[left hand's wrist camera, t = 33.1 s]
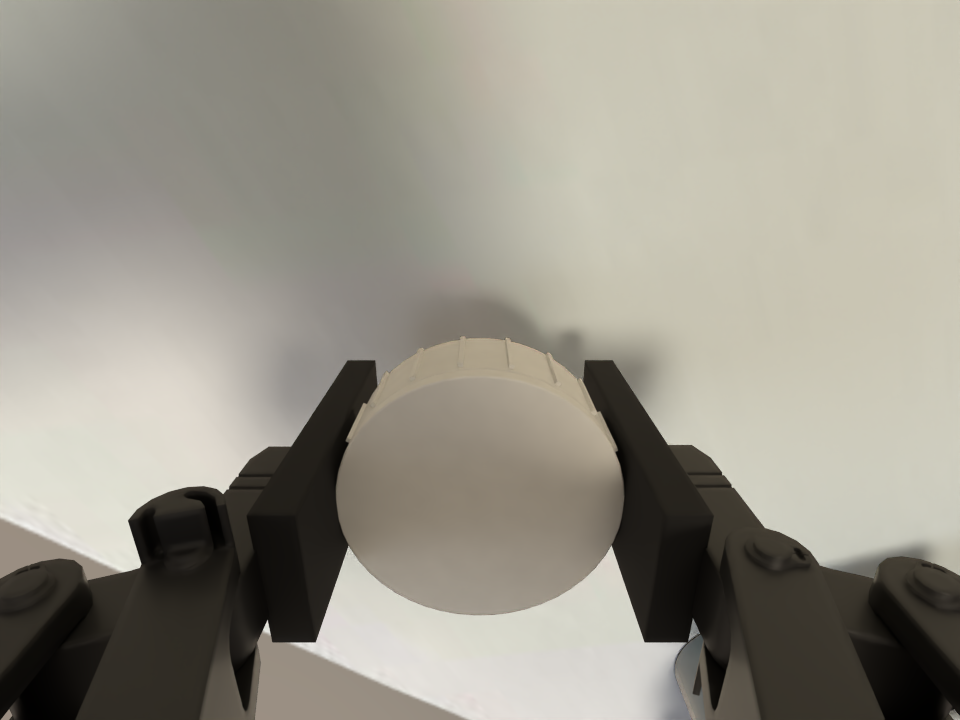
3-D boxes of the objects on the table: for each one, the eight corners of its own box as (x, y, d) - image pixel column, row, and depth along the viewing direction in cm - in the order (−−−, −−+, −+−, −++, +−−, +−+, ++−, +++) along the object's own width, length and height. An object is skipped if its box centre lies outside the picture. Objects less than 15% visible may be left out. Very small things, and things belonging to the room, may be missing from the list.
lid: (588, 552, 13) (608, 622, 11) (361, 545, 13) (340, 614, 11) (620, 339, 11) (651, 380, 9) (349, 329, 11) (320, 367, 9)
